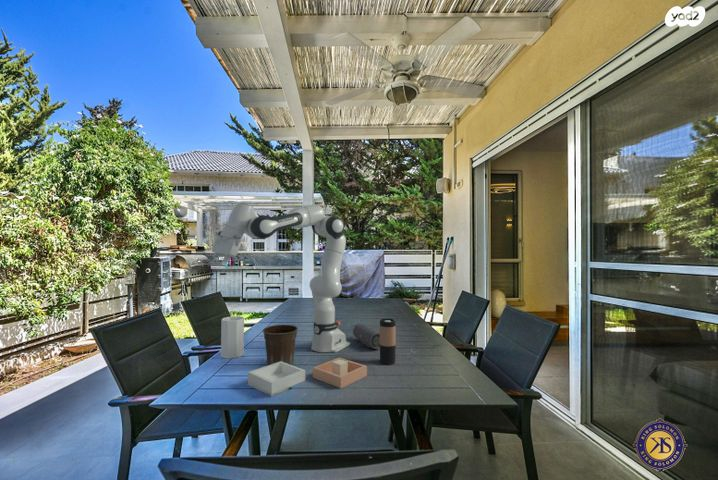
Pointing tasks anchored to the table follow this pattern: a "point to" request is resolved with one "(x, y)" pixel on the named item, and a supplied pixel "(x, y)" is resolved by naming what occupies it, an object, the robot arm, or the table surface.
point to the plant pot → (280, 343)
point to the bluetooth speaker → (367, 336)
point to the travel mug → (387, 341)
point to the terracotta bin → (326, 375)
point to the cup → (232, 337)
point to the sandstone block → (340, 367)
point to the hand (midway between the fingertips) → (218, 264)
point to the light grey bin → (275, 378)
